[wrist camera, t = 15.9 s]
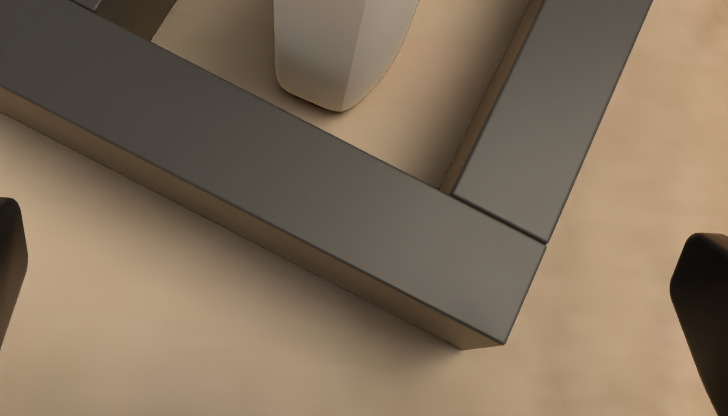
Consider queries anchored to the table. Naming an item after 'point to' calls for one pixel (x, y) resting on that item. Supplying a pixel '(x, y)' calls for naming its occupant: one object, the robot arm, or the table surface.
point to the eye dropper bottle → (337, 47)
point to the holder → (335, 153)
